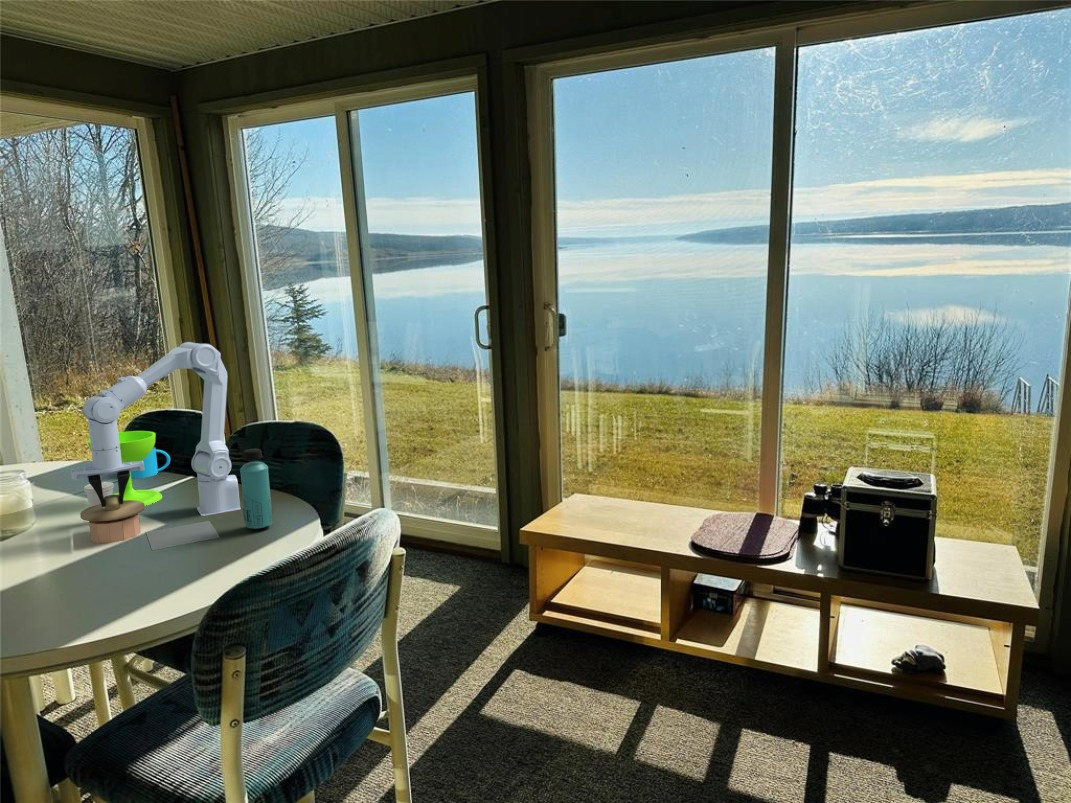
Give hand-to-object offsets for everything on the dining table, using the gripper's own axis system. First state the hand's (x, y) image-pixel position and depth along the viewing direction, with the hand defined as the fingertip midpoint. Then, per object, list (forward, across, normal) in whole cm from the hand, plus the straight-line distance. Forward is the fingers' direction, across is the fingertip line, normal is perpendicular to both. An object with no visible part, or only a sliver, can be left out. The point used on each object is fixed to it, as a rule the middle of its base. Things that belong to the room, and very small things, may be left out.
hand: (112, 504), depth 166 cm
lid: (+2, 0, 0) cm, 2 cm away
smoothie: (+8, +2, -14) cm, 16 cm away
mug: (+8, -13, -59) cm, 61 cm away
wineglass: (+8, -5, -30) cm, 31 cm away
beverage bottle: (+8, -29, +15) cm, 34 cm away
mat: (+8, -13, +9) cm, 18 cm away
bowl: (+8, 0, 0) cm, 8 cm away
